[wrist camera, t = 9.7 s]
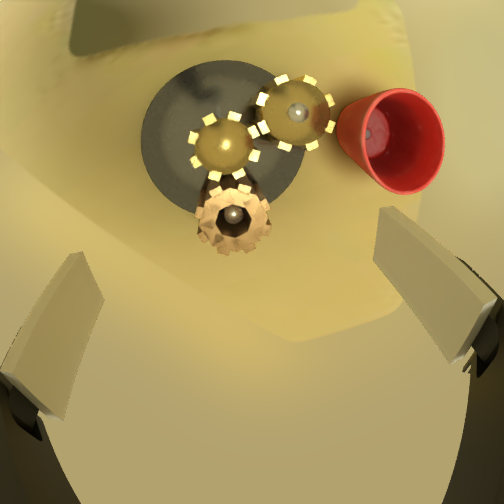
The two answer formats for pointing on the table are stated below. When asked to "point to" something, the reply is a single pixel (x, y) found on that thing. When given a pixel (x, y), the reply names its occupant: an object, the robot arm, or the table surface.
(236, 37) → the table surface
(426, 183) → the flower pot
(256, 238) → the gear
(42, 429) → the robot arm
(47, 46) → the table surface
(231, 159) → the carrier
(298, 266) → the table surface
